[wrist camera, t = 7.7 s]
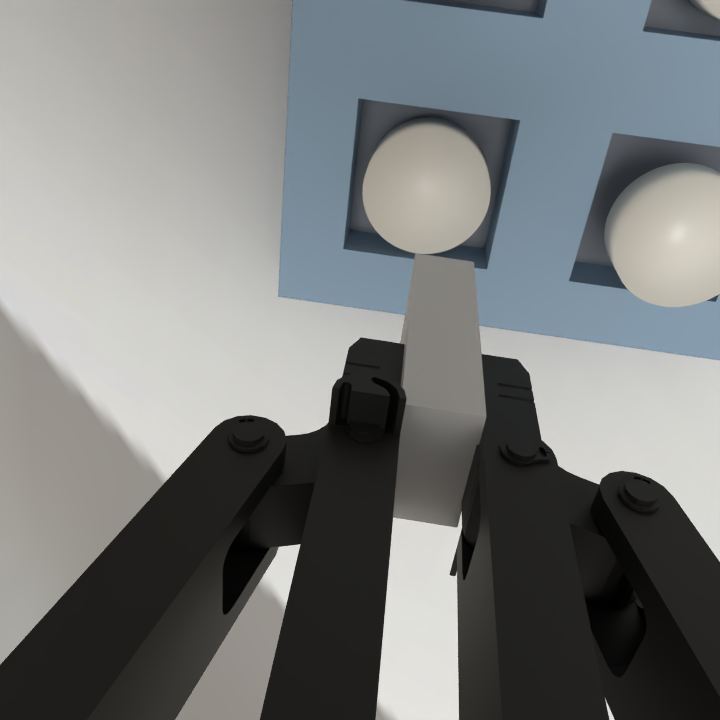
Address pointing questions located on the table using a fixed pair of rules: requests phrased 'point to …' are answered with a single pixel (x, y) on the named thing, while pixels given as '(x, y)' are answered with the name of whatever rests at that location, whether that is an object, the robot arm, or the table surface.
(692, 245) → the button
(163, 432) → the table surface
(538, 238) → the button board
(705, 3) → the button
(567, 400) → the table surface
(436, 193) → the button
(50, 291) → the table surface
